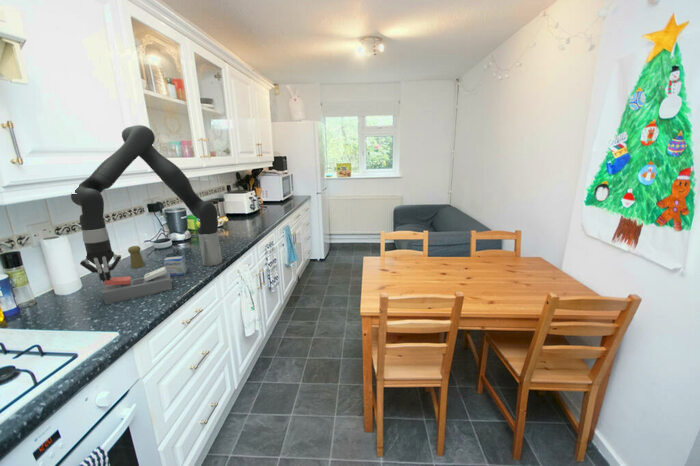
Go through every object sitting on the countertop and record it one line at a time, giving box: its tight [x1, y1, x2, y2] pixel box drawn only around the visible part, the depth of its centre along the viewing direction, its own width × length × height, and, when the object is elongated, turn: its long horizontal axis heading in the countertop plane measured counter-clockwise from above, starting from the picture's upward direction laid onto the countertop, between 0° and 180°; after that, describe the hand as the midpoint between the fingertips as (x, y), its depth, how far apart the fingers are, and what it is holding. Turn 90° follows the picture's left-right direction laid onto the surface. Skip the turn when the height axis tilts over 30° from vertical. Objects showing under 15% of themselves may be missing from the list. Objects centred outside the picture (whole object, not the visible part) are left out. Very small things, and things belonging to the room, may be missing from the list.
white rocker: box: [143, 266, 166, 281], centre depth 126 cm, size 8×4×2 cm, turn 121°
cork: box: [127, 245, 145, 269], centre depth 152 cm, size 6×6×11 cm
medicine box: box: [163, 255, 187, 277], centre depth 142 cm, size 8×4×9 cm, turn 105°
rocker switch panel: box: [101, 272, 173, 305], centre depth 124 cm, size 23×9×6 cm, turn 122°
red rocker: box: [104, 276, 132, 286], centre depth 120 cm, size 8×4×2 cm, turn 122°
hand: (106, 280), depth 118 cm, fingers closed
